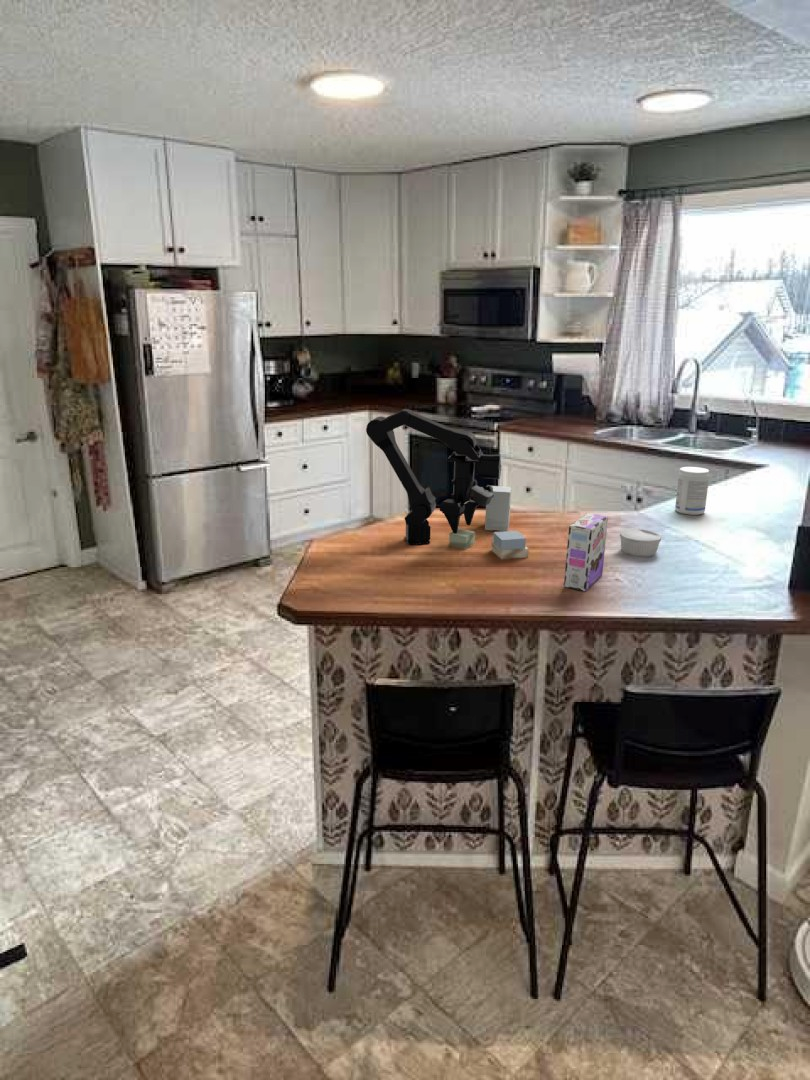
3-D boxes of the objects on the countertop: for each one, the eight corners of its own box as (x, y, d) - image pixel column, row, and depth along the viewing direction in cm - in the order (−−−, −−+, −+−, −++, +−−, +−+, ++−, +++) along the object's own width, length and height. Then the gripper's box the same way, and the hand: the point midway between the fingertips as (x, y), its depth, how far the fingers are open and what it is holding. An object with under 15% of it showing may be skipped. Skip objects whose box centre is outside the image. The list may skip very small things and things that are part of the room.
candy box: (585, 592, 182) (591, 528, 177) (562, 587, 185) (568, 524, 180) (603, 575, 193) (609, 515, 188) (581, 571, 196) (586, 511, 191)
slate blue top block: (501, 550, 204) (501, 540, 203) (493, 542, 210) (493, 532, 209) (525, 548, 205) (525, 538, 204) (516, 540, 212) (516, 530, 211)
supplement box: (508, 531, 228) (510, 492, 224) (484, 530, 229) (485, 490, 225) (509, 524, 235) (511, 486, 231) (486, 523, 236) (488, 485, 232)
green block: (466, 549, 212) (466, 536, 211) (449, 546, 215) (449, 533, 214) (474, 544, 217) (474, 531, 215) (457, 541, 219) (458, 528, 218)
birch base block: (501, 561, 205) (501, 550, 204) (491, 551, 212) (491, 541, 211) (528, 558, 206) (528, 548, 205) (517, 549, 214) (518, 539, 213)
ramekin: (665, 551, 212) (668, 534, 210) (648, 561, 204) (650, 543, 202) (629, 543, 219) (631, 526, 217) (611, 552, 211) (613, 534, 210)
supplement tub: (709, 512, 251) (715, 469, 246) (696, 517, 244) (702, 474, 240) (682, 506, 257) (687, 464, 252) (669, 511, 251) (674, 469, 246)
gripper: (476, 487, 198) (474, 542, 203) (502, 473, 213) (499, 525, 218) (439, 482, 203) (438, 536, 208) (467, 469, 218) (465, 519, 223)
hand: (461, 529), depth 214 cm, fingers open, 9 cm apart
